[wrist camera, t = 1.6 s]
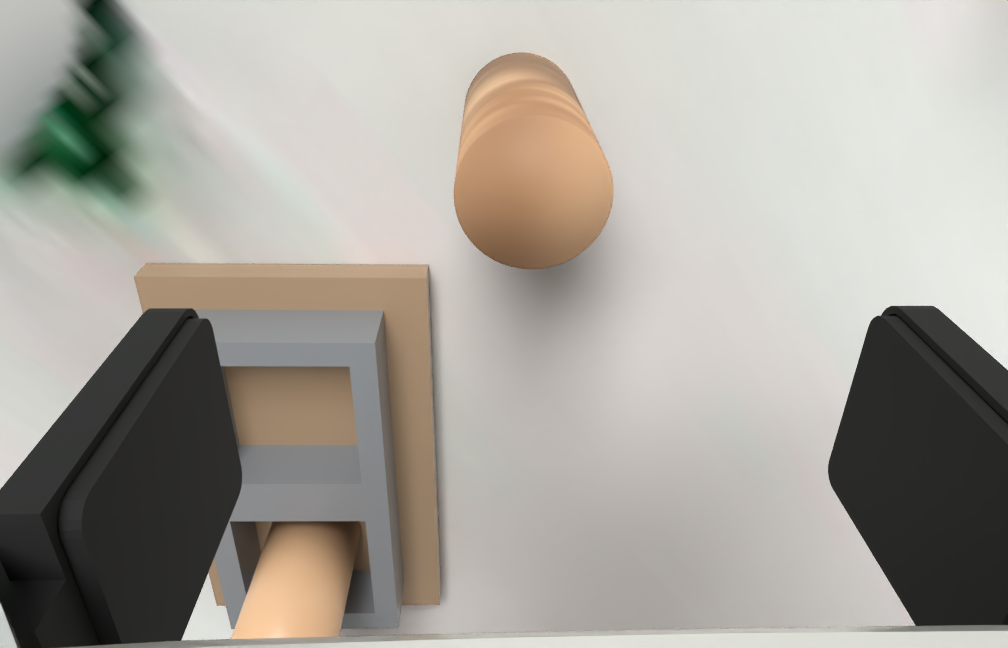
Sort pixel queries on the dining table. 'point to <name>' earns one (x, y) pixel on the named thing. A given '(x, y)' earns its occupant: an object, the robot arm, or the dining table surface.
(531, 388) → the dining table surface
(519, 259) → the switch lever
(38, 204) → the dining table surface
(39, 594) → the robot arm
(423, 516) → the housing
